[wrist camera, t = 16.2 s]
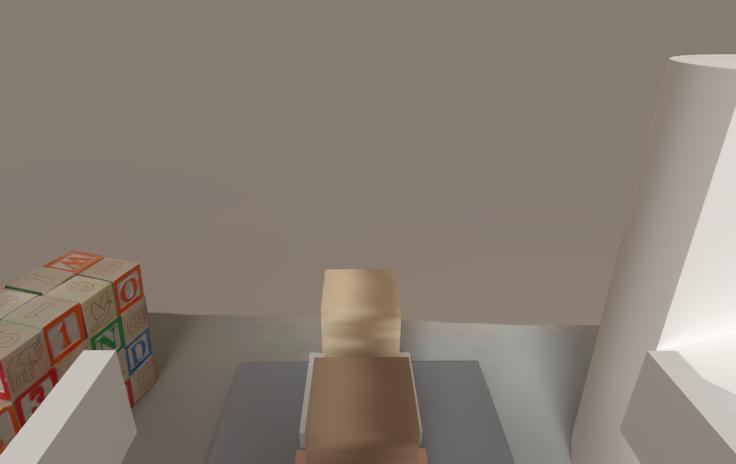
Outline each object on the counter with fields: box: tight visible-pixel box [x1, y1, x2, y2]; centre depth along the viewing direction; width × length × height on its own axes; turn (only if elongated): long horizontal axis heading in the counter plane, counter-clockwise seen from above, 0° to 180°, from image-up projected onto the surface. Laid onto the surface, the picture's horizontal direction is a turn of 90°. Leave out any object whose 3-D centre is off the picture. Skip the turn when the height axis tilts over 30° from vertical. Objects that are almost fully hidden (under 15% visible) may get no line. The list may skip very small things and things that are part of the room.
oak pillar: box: [321, 269, 402, 357], centre depth 37 cm, size 6×6×11 cm
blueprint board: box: [207, 352, 514, 464], centre depth 34 cm, size 22×20×2 cm
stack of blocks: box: [0, 251, 156, 455], centre depth 31 cm, size 21×6×12 cm, turn 168°
